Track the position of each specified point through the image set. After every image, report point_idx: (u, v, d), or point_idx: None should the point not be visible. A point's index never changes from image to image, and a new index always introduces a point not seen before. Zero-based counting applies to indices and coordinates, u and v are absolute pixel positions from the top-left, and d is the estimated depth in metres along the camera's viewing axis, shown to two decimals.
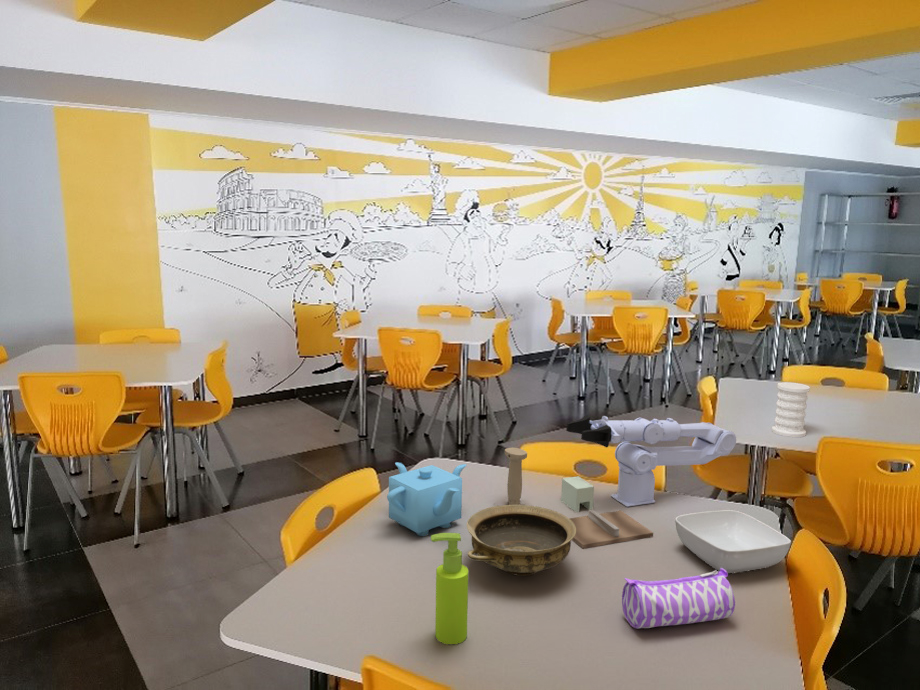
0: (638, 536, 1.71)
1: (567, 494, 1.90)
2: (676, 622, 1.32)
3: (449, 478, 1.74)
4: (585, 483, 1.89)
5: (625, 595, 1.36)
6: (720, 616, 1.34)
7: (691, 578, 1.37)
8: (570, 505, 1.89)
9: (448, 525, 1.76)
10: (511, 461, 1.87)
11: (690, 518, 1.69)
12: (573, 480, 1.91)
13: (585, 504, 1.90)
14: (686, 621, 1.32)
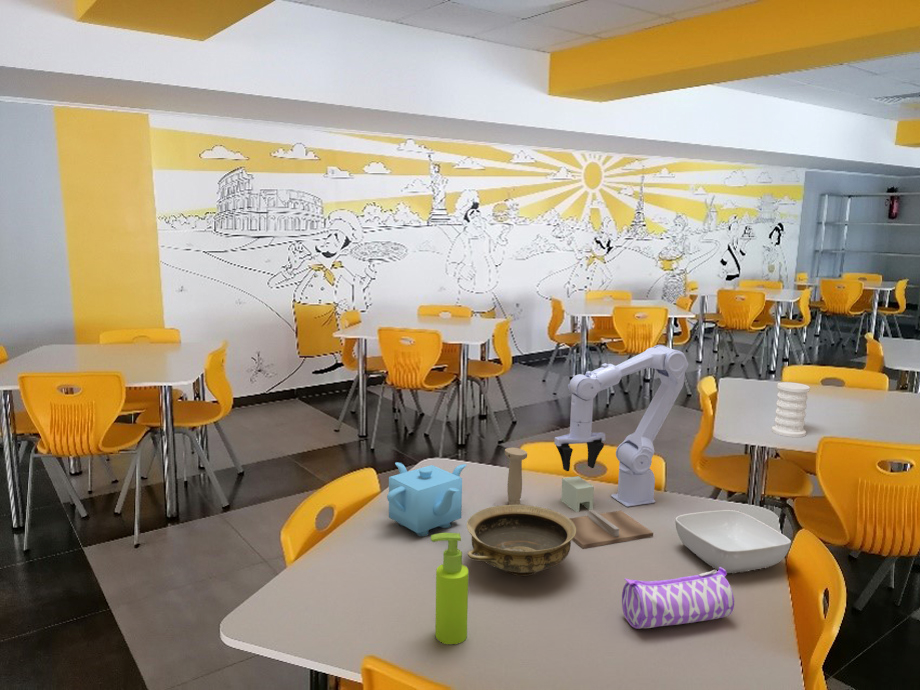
0: (638, 536, 1.71)
1: (567, 494, 1.90)
2: (676, 622, 1.32)
3: (449, 478, 1.74)
4: (585, 483, 1.89)
5: (625, 595, 1.36)
6: (720, 615, 1.35)
7: (690, 578, 1.37)
8: (570, 505, 1.89)
9: (448, 525, 1.76)
10: (511, 461, 1.87)
11: (690, 518, 1.69)
12: (573, 480, 1.91)
13: (585, 504, 1.90)
14: (686, 621, 1.32)
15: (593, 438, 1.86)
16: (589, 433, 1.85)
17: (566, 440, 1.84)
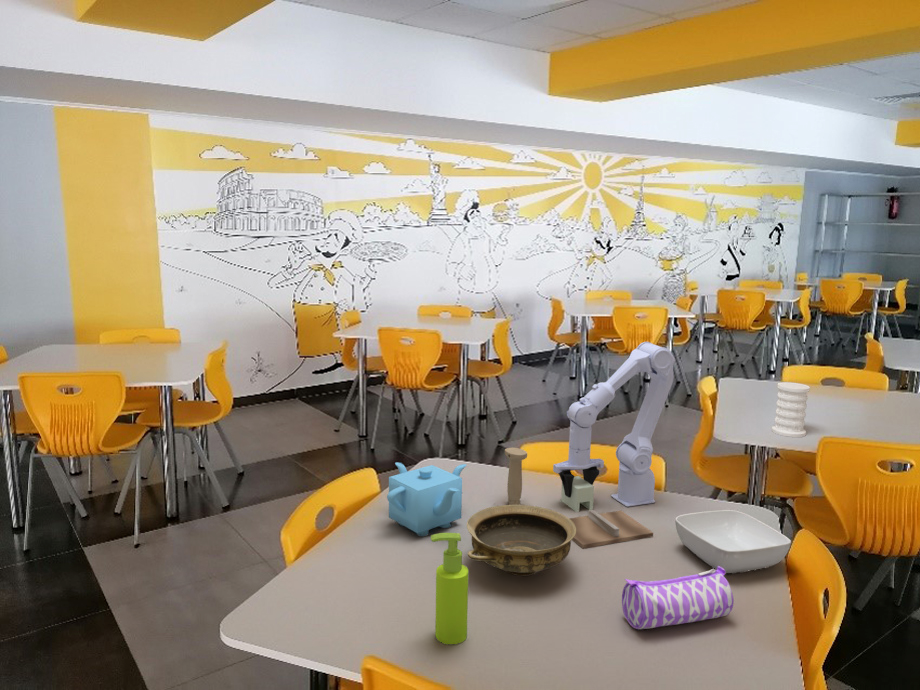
0: (638, 536, 1.71)
1: None
2: (677, 622, 1.32)
3: (449, 478, 1.74)
4: (585, 483, 1.89)
5: (625, 596, 1.36)
6: (719, 614, 1.35)
7: (690, 577, 1.37)
8: (570, 505, 1.89)
9: (448, 525, 1.76)
10: (511, 461, 1.87)
11: (690, 518, 1.69)
12: (573, 480, 1.91)
13: (585, 504, 1.89)
14: (686, 620, 1.33)
15: (591, 465, 1.88)
16: (587, 460, 1.86)
17: (565, 467, 1.86)
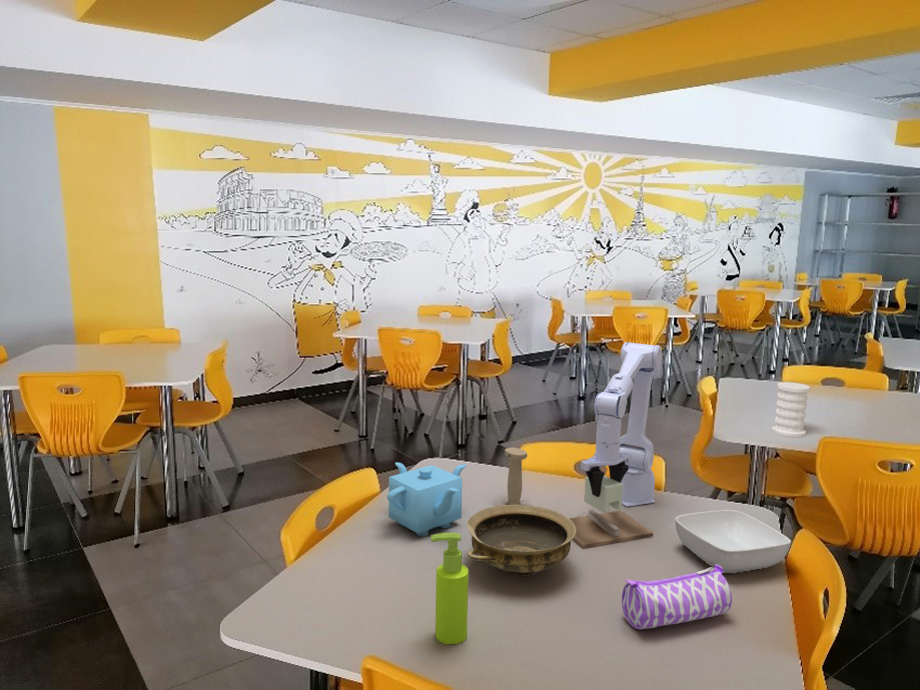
0: (638, 536, 1.71)
1: None
2: (677, 621, 1.32)
3: (449, 478, 1.74)
4: (612, 481, 1.73)
5: (625, 596, 1.36)
6: (718, 612, 1.36)
7: (688, 576, 1.38)
8: (597, 506, 1.72)
9: (448, 525, 1.76)
10: (511, 461, 1.87)
11: (690, 518, 1.69)
12: None
13: (612, 504, 1.74)
14: (687, 619, 1.33)
15: (621, 460, 1.71)
16: (618, 455, 1.70)
17: (594, 464, 1.68)
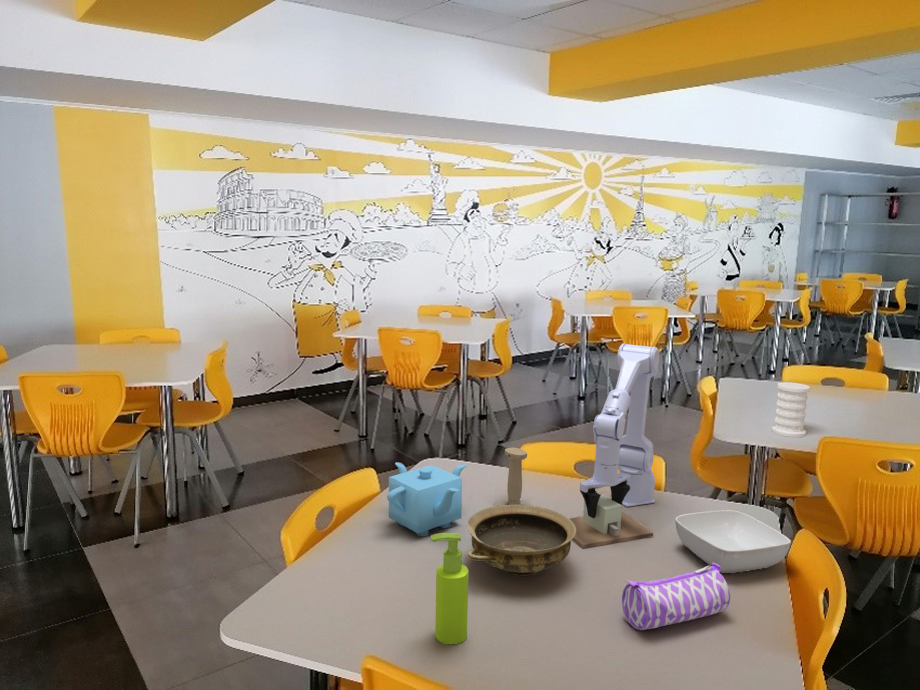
0: (638, 536, 1.71)
1: None
2: (678, 620, 1.32)
3: (449, 478, 1.74)
4: (611, 502, 1.74)
5: (626, 597, 1.35)
6: (717, 611, 1.36)
7: (687, 575, 1.38)
8: (596, 526, 1.73)
9: (448, 525, 1.76)
10: (511, 461, 1.87)
11: (690, 518, 1.69)
12: None
13: None
14: (687, 618, 1.33)
15: (620, 481, 1.72)
16: (616, 476, 1.71)
17: (593, 485, 1.69)
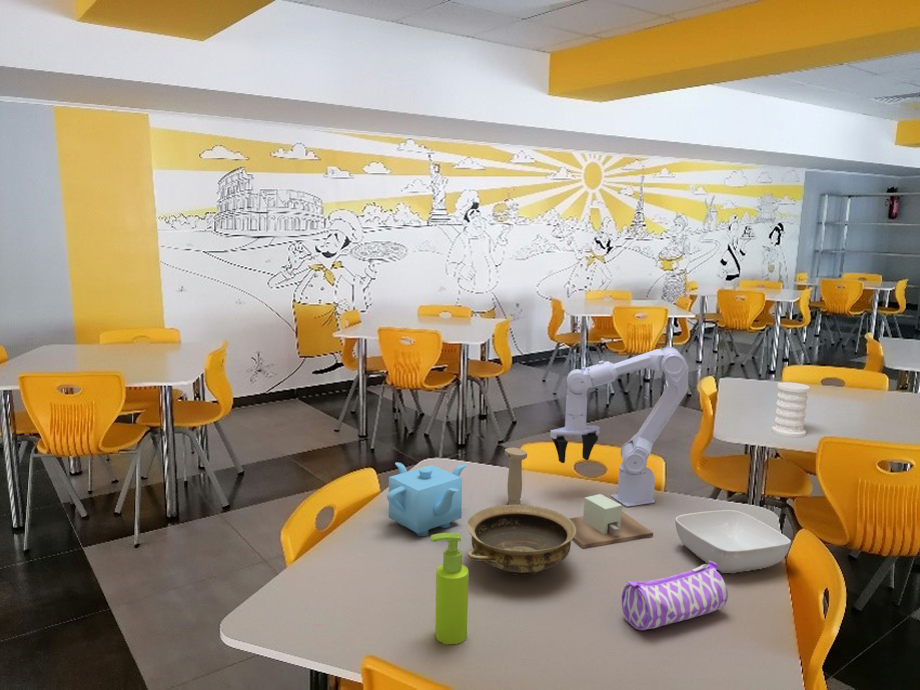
0: (638, 536, 1.71)
1: (591, 514, 1.75)
2: (678, 619, 1.33)
3: (449, 478, 1.74)
4: (611, 502, 1.74)
5: (626, 597, 1.35)
6: (715, 608, 1.37)
7: (685, 574, 1.39)
8: (596, 526, 1.73)
9: (448, 525, 1.76)
10: (511, 461, 1.87)
11: (690, 518, 1.69)
12: (596, 499, 1.76)
13: None
14: (687, 617, 1.34)
15: (588, 431, 1.92)
16: (584, 426, 1.91)
17: (561, 433, 1.90)
